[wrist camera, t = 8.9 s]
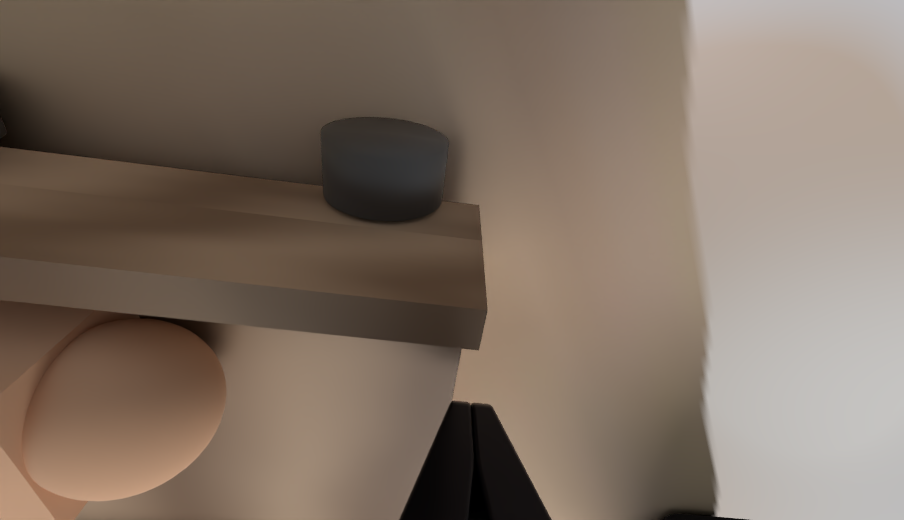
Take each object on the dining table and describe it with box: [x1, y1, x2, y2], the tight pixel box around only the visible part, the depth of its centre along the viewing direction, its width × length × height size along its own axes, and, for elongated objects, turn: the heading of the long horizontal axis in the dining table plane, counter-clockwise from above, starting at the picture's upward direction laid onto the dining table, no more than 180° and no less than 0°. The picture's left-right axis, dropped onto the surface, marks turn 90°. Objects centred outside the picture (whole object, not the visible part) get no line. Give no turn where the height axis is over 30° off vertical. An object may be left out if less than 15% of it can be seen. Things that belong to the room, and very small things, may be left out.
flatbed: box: [0, 116, 487, 520], centre depth 11 cm, size 14×17×4 cm
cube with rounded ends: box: [0, 300, 226, 520], centre depth 8 cm, size 7×3×3 cm, turn 83°
